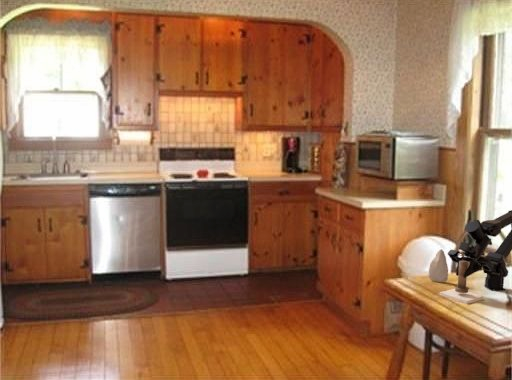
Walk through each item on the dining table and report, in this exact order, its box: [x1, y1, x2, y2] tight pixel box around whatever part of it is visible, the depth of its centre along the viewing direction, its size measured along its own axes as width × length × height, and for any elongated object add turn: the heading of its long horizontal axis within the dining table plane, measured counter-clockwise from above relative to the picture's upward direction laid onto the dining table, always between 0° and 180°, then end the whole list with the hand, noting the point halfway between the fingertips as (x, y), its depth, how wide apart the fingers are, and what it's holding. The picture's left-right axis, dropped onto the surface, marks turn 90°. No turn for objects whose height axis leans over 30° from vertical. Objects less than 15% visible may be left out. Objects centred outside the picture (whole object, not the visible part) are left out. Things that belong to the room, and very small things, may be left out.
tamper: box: [454, 261, 469, 293], centre depth 222 cm, size 5×5×12 cm
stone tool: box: [427, 248, 449, 283], centre depth 245 cm, size 8×3×15 cm, turn 68°
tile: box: [439, 288, 484, 305], centre depth 223 cm, size 11×13×1 cm
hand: (460, 276), depth 222 cm, fingers closed on tamper, 3 cm apart
